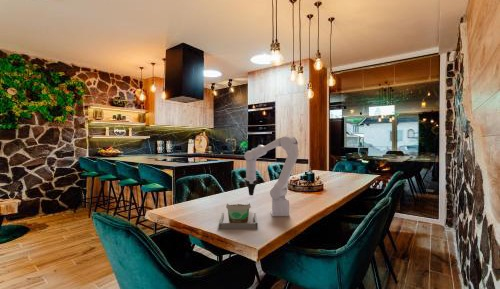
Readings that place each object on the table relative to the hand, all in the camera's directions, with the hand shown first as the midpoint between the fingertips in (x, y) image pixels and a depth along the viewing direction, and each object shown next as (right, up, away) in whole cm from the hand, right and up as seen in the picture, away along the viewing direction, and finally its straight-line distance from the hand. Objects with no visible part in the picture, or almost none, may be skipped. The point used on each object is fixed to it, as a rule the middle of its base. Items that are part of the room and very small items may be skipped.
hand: (251, 193), depth 152 cm
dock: (-6, -10, -23) cm, 26 cm away
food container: (-6, -10, -26) cm, 29 cm away
